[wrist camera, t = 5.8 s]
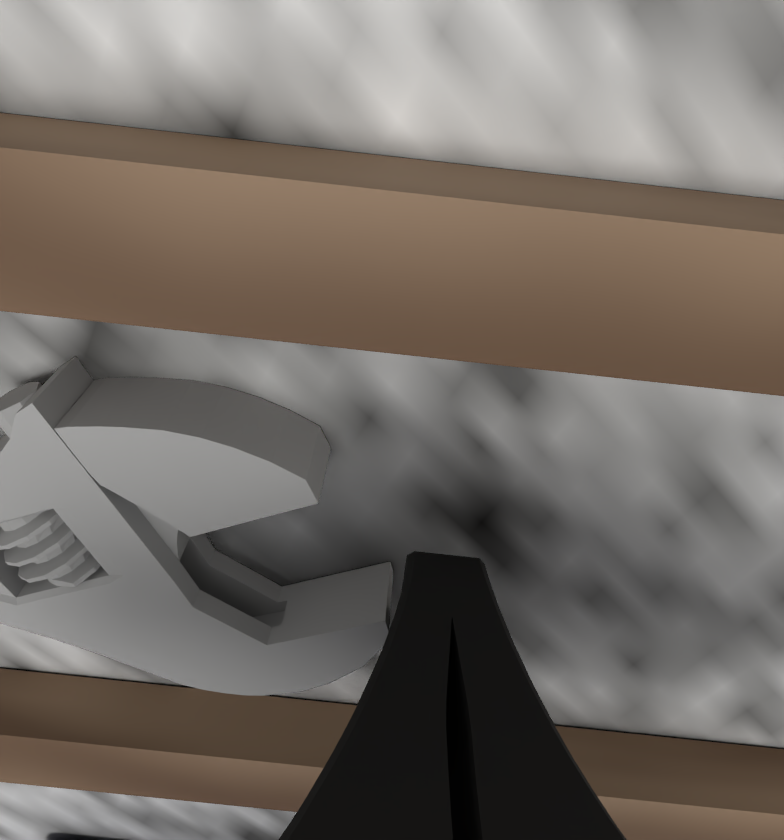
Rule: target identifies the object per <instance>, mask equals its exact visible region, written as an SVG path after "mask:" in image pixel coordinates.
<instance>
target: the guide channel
mask: <svg viewBox="0 0 784 840" xmlns="http://www.w3.org/2000/svg"><path fill="white" fill-rule="evenodd" d="M0 311H7V312H16V313H25V314H34V315H44V316H53V317H62V318H71V319H80V320H90V321H99V322H108V323H117V324H126V325H136V326H145V327H154V328H163V329H172V330H182V331H191V332H200V333H209V334H218V335H228V336H237V337H246V338H255V339H264V340H273V341H283V342H292V343H301V344H310V345H319V346H329V347H338V348H347V349H356V350H365V351H375V352H384V353H393V354H402V355H411V356H421V357H430V358H439V359H448V360H457V361H467V362H476V363H485V364H494V365H503V366H513V367H522V368H531V369H540V370H549V371H559V372H568V373H577V374H586V375H595V376H605V377H614V378H623V379H632V380H641V381H650V382H660V383H669V384H678V385H687V386H696V387H706V388H715V389H724V390H733V391H742V392H752V393H761V394H770V395H779V396H784V200H776V199H767V198H758V197H749V196H740V195H731V194H722V193H713V192H704V191H695V190H686V189H677V188H668V187H659V186H651V185H642V184H633V183H624V182H615V181H606V180H597V179H588V178H579V177H570V176H561V175H552V174H543V173H534V172H525V171H516V170H507V169H498V168H489V167H481V166H472V165H463V164H454V163H445V162H436V161H427V160H418V159H409V158H400V157H391V156H382V155H373V154H364V153H355V152H346V151H337V150H328V149H319V148H310V147H302V146H293V145H284V144H275V143H266V142H257V141H248V140H239V139H230V138H221V137H212V136H203V135H194V134H185V133H176V132H167V131H158V130H149V129H140V128H131V127H123V126H114V125H105V124H96V123H87V122H78V121H69V120H60V119H51V118H42V117H33V116H24V115H15V114H6V113H0ZM356 707H357V705H349V704H340V703H330V702H320V701H311V700H301V699H291V698H282V697H272V696H249V695H236V694H227V693H220V692H214V691H207V690H202V689H194V688H185V687H175V686H165V685H156V684H146V683H136V682H127V681H117V680H107V679H98V678H88V677H78V676H69V675H59V674H49V673H40V672H30V671H20V670H11V669H1V668H0V782H7V783H17V784H27V785H37V786H47V787H57V788H66V789H76V790H86V791H96V792H106V793H116V794H125V795H135V796H145V797H155V798H165V799H175V800H184V801H194V802H204V803H214V804H224V805H234V806H243V807H253V808H263V809H273V810H283V811H293V812H297V811H298V810H299V808H300V807H301V805H302V803H303V802H304V800H305V798H306V797H307V795H308V794H309V792H310V790H311V788H312V787H313V785H314V783H315V782H316V780H317V778H318V777H319V775H320V773H321V771H322V770H323V768H324V766H325V765H326V763H327V761H328V760H329V758H330V756H331V754H332V752H333V751H334V749H335V747H336V745H337V743H338V741H339V739H340V738H341V736H342V734H343V732H344V730H345V728H346V726H347V724H348V722H349V721H350V719H351V717H352V715H353V713H354V711H355V709H356ZM555 727H556V729H557V731H558V732H559V734H560V736H561V738H562V739H563V741H564V743H565V745H566V746H567V748H568V750H569V752H570V753H571V755H572V757H573V758H574V760H575V762H576V763H577V765H578V767H579V768H580V770H581V771H582V773H583V775H584V776H585V778H586V779H587V781H588V783H589V784H590V786H591V788H592V789H593V791H594V792H595V794H596V795H597V797H598V798H599V800H600V801H601V803H602V804H603V806H604V807H605V809H606V810H607V812H608V813H609V815H610V816H611V818H612V819H613V821H614V822H615V824H616V825H617V827H618V828H619V830H620V831H621V832H622V834H623V835H624V837H625V838H626V839H627V840H784V749H775V748H765V747H756V746H746V745H736V744H727V743H717V742H707V741H697V740H688V739H678V738H668V737H659V736H649V735H639V734H630V733H620V732H610V731H601V730H591V729H581V728H572V727H562V726H555Z"/></svg>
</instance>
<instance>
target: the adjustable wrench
mask: <svg viewBox="0 0 784 840" xmlns="http://www.w3.org/2000/svg"><path fill="white" fill-rule="evenodd" d="M0 427H1V429H2V430H3V431H4V432H5V433H6V435H4V436H3V437H1V438H0V623H1V624H4V625H7V626H11V627H14V628H18V629H21V630H25V631H28V632H31V633H35V634H38V635H42V636H45V637H49V638H52V639H55V640H58V641H61V642H64V643H67V644H70V645H73V646H76V647H79V648H82V649H85V650H88V651H91V652H94V653H96V654H99V655H102V656H105V657H107V658H110V659H113V660H116V661H118V662H121V663H124V664H126V665H129V666H132V667H135V668H137V669H140V670H143V671H146V672H148V673H151V674H154V675H157V676H159V677H162V678H165V679H167V680H170V681H173V682H176V683H178V684H182V685H186V686H190V687H194V688H198V689H202V690H207V691H214V692H220V693H227V694H236V695H249V696H265V695H274V694H283V693H292V692H301V691H305V690H308V689H312V688H315V687H318V686H322V685H325V684H328V683H331V682H333V681H335V680H337V679H339V678H341V677H343V676H345V675H347V674H349V673H351V672H353V671H355V670H357V669H359V668H361V667H363V666H364V665H365V664H366V663H367V662H368V661H369V660H370V659H371V658H372V657H373V656H374V655H375V654H376V653H377V652H378V651H379V650H380V649H381V648H382V647H383V646H384V643H385V640H386V638H387V635H388V632H389V624H390V611H391V599H392V586H393V574H394V572H393V569H392V565H391V562H386V563H382V564H377V565H373V566H369V567H364V568H360V569H356V570H351V571H347V572H343V573H338V574H334V575H330V576H325V577H321V578H317V579H312V580H308V581H304V582H299V583H295V584H291V585H286V586H280V585H278V584H276V583H275V582H273V581H271V580H269V579H267V578H265V577H264V576H262V575H260V574H258V573H256V572H255V571H253V570H251V569H249V568H247V567H246V566H244V565H242V564H240V563H238V562H236V561H235V560H233V559H231V558H229V557H227V556H226V555H224V554H222V553H220V552H218V551H217V550H215V549H214V547H213V546H212V544H211V543H210V541H209V540H208V538H207V537H206V535H205V534H204V533H208V532H212V531H215V530H219V529H223V528H227V527H231V526H234V525H238V524H242V523H246V522H250V521H254V520H257V519H261V518H265V517H269V516H273V515H276V514H280V513H284V512H288V511H292V510H296V509H299V508H303V507H307V506H311V505H315V504H318V503H319V499H320V495H321V490H322V486H323V482H324V477H325V473H326V469H327V464H328V460H329V456H330V451H331V448H330V446H329V444H328V442H327V440H326V438H325V436H324V433H323V431H322V429H321V427H320V426H318V425H316V424H315V423H313V422H311V421H309V420H307V419H305V418H303V417H302V416H300V415H298V414H296V413H294V412H292V411H290V410H288V409H286V408H283V407H281V406H279V405H276V404H274V403H271V402H269V401H266V400H264V399H262V398H259V397H257V396H253V395H250V394H247V393H244V392H241V391H237V390H234V389H231V388H228V387H224V386H219V385H214V384H209V383H204V382H199V381H194V380H182V379H168V378H148V377H123V378H103V379H97V380H94V381H93V379H92V378H91V376H90V375H89V374H88V372H87V371H86V370H85V368H84V367H83V365H82V364H81V363H80V361H79V360H78V359H77V357H76V356H75V357H73V358H72V359H70V360H69V361H68V362H66V363H65V364H63V365H62V366H60V367H59V368H58V369H57V370H56V372H55V373H54V374H53V375H52V376H51V377H50V378H49V379H48V380H47V381H46V382H45V383H44V384H43V385H41V383H40V382H29V383H26V384H24V385H22V386H20V387H18V388H15V389H13V390H11V391H9V392H8V393H6V394H5V395H4V396H2V397H1V398H0Z"/></svg>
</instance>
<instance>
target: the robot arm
mask: <svg viewBox="0 0 784 840" xmlns="http://www.w3.org/2000/svg"><path fill="white" fill-rule="evenodd" d="M279 840H627V839H626V838H625V837H624V835H623V834H622V832H621V831H620V830H619V828H618V827H617V825H616V824H615V822H614V821H613V819H612V818H611V816H610V815H609V813H608V812H607V810H606V809H605V807H604V806H603V804H602V803H601V801H600V800H599V798H598V797H597V795H596V794H595V792H594V791H593V789H592V788H591V786H590V784H589V783H588V781H587V779H586V778H585V776H584V775H583V773H582V771H581V770H580V768H579V767H578V765H577V763H576V762H575V760H574V758H573V757H572V755H571V753H570V752H569V750H568V748H567V746H566V745H565V743H564V741H563V739H562V738H561V736H560V734H559V732H558V731H557V729H556V727H555V725H554V723H553V721H552V720H551V718H550V716H549V714H548V712H547V710H546V708H545V706H544V705H543V703H542V701H541V699H540V697H539V695H538V693H537V691H536V689H535V687H534V685H533V683H532V681H531V679H530V677H529V675H528V673H527V671H526V668H525V666H524V664H523V662H522V660H521V658H520V656H519V653H518V651H517V649H516V647H515V645H514V643H513V640H512V638H511V636H510V633H509V631H508V629H507V626H506V624H505V621H504V619H503V616H502V614H501V611H500V609H499V606H498V603H497V601H496V598H495V595H494V593H493V590H492V587H491V584H490V581H489V578H488V575H487V571H486V568H485V564H484V563H483V562H482V561H481V560H480V559H479V558H471V557H462V556H453V555H444V554H434V553H425V552H416V551H414V552H413V553H411V554H409V555H407V560H406V566H405V573H404V579H403V586H402V592H401V596H400V600H399V603H398V606H397V610H396V613H395V616H394V619H393V622H392V624H391V627H390V630H389V632H388V635H387V638H386V640H385V643H384V646H383V648H382V651H381V654H380V656H379V658H378V661H377V663H376V665H375V668H374V670H373V672H372V674H371V676H370V679H369V681H368V683H367V685H366V687H365V690H364V692H363V694H362V696H361V698H360V700H359V703H358V705H357V707H356V709H355V711H354V713H353V715H352V717H351V719H350V721H349V722H348V724H347V726H346V728H345V730H344V732H343V734H342V736H341V738H340V739H339V741H338V743H337V745H336V747H335V749H334V751H333V752H332V754H331V756H330V758H329V760H328V761H327V763H326V765H325V766H324V768H323V770H322V771H321V773H320V775H319V777H318V778H317V780H316V782H315V783H314V785H313V787H312V788H311V790H310V792H309V794H308V795H307V797H306V798H305V800H304V802H303V803H302V805H301V807H300V808H299V810H298V811H297V813H296V815H295V816H294V818H293V819H292V821H291V822H290V824H289V825H288V827H287V828H286V830H285V831H284V833H283V834H282V836H281V837H280V839H279Z"/></svg>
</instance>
